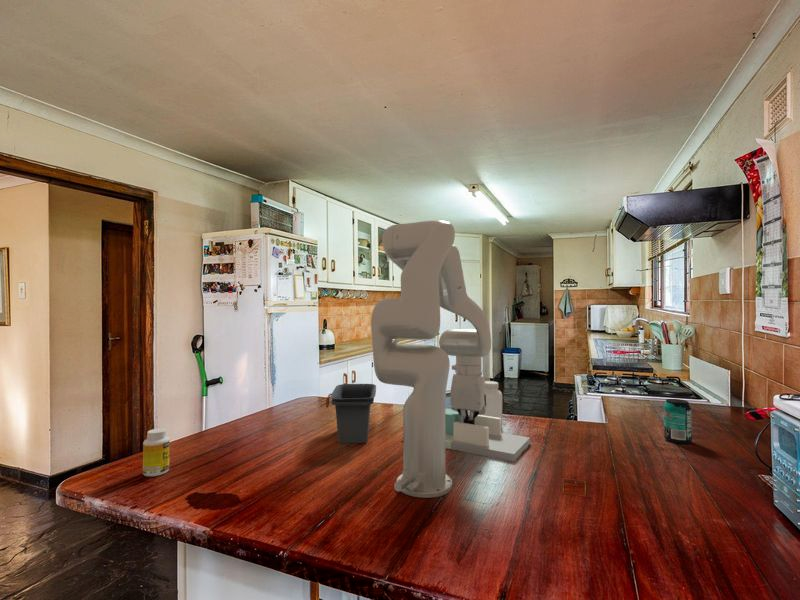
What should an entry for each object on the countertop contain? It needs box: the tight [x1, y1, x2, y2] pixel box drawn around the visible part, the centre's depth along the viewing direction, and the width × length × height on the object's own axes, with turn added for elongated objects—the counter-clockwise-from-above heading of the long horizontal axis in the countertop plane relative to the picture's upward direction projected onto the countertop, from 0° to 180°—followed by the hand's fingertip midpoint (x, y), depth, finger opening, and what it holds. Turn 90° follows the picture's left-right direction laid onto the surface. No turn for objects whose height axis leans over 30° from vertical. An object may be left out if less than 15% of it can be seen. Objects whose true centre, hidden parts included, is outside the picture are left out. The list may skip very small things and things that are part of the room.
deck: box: [445, 415, 531, 463], centre depth 122 cm, size 16×34×7 cm, turn 58°
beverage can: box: [663, 398, 693, 445], centre depth 123 cm, size 7×7×12 cm
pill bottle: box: [483, 380, 503, 427], centre depth 138 cm, size 8×8×15 cm
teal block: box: [445, 408, 463, 435], centre depth 126 cm, size 6×6×6 cm
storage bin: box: [325, 383, 377, 444], centre depth 129 cm, size 21×16×14 cm
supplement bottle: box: [142, 427, 171, 477], centre depth 100 cm, size 6×6×10 cm
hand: (468, 431), depth 122 cm, fingers closed
